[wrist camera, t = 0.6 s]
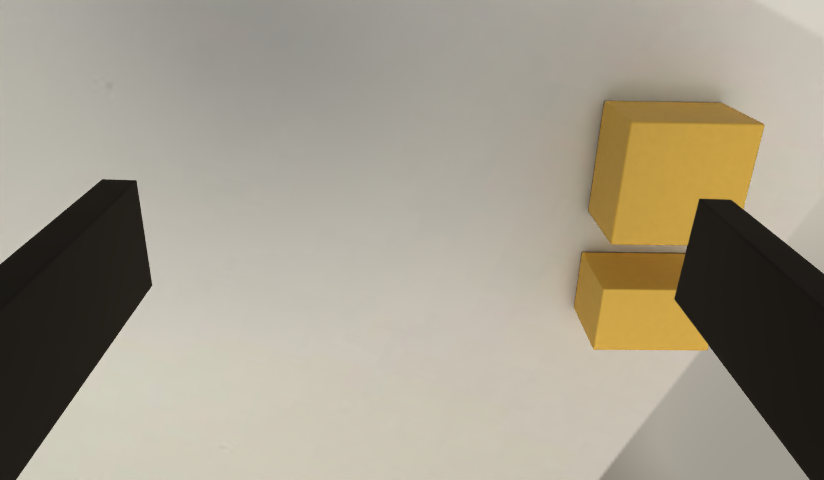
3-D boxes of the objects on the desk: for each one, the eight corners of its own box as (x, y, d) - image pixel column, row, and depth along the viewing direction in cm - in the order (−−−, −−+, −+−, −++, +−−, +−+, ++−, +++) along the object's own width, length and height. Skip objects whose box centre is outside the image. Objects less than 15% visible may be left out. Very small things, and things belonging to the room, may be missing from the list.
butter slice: (581, 251, 30) (603, 289, 27) (689, 253, 30) (723, 290, 27) (573, 307, 31) (593, 350, 28) (676, 308, 31) (707, 351, 28)
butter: (603, 100, 27) (631, 121, 24) (723, 102, 27) (766, 124, 24) (587, 211, 29) (610, 245, 26) (698, 213, 29) (734, 246, 26)
